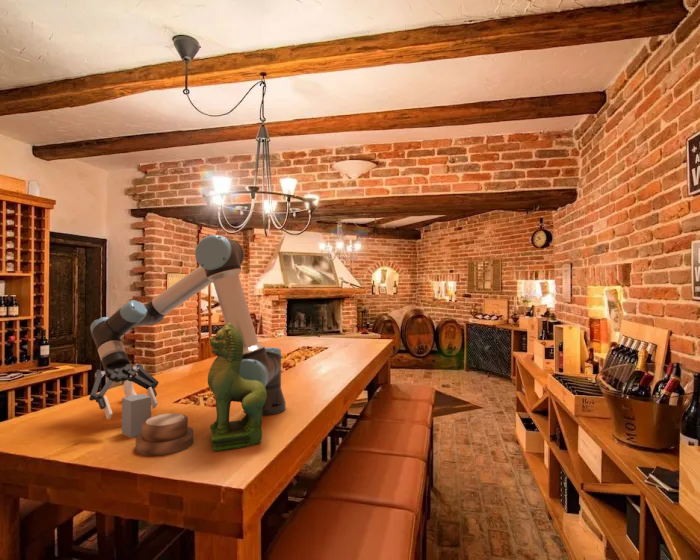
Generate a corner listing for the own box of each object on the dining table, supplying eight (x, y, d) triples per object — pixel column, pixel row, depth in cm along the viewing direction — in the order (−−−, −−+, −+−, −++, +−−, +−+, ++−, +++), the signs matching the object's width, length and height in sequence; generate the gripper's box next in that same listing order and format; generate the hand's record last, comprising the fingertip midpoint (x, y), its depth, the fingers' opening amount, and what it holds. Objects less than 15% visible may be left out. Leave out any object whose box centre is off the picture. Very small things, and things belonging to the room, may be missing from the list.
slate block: (141, 428, 127) (142, 393, 128) (150, 432, 124) (151, 396, 124) (121, 433, 123) (122, 397, 123) (130, 438, 119) (131, 401, 119)
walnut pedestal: (200, 434, 122) (200, 410, 122) (181, 455, 107) (181, 427, 107) (150, 435, 121) (150, 411, 121) (124, 456, 106) (125, 428, 106)
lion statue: (206, 437, 120) (206, 321, 120) (261, 429, 126) (261, 319, 127) (208, 454, 107) (209, 325, 108) (269, 445, 114) (270, 323, 114)
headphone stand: (137, 403, 155) (137, 372, 155) (123, 402, 155) (123, 371, 156) (144, 399, 159) (145, 369, 160) (130, 399, 160) (131, 369, 160)
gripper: (147, 359, 144) (168, 408, 135) (67, 370, 125) (84, 428, 115) (155, 345, 141) (176, 395, 132) (73, 355, 122) (91, 414, 112)
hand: (133, 411), depth 124 cm, fingers open, 13 cm apart
